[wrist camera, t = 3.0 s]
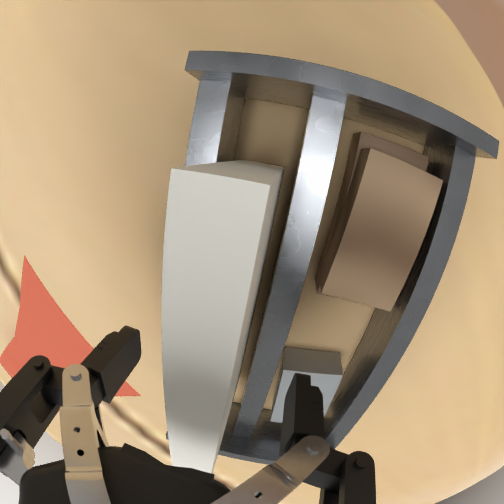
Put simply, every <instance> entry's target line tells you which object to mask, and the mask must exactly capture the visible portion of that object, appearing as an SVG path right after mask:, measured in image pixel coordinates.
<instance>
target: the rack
mask: <svg viewBox="0 0 504 504" xmlns="http://www.w3.org/2000/svg"><path fill="white" fill-rule="evenodd" d="M185 71H187V72H188V73H190V74H191V75H193V76H194V77H195V78H197V79H198V80H200V84H199V88H198V93H197V98H196V103H195V108H194V114H193V119H192V125H191V130H190V136H189V143H188V149H187V155H186V162H185V166H191V165H199V164H207V163H216V162H226V161H233V159H234V153H235V147H236V142H237V136H238V131H239V126H240V120H241V115H242V110H243V105H244V100H245V98H248V99H256V100H263V101H269V102H275V103H281V104H286V105H291V106H296V107H301V108H306V109H308V115H307V120H306V125H305V130H304V135H303V140H302V146H301V151H300V155H299V160H298V165H297V170H296V175H295V180H294V185H293V189H292V194H291V199H290V203H289V208H288V213H287V217H286V222H285V226H284V231H283V235H282V240H281V244H280V248H279V253H278V257H277V261H276V266H275V270H274V274H273V279H272V283H271V287H270V291H269V295H268V299H267V304H266V308H265V312H264V316H263V320H262V324H261V328H260V332H259V336H258V340H257V344H256V348H255V351H254V355H253V359H252V363H251V367H250V371H249V374H248V378H247V382H246V386H245V389H244V393H243V397H242V401H241V404H238V403H233V402H232V405H231V409H230V413H229V416H228V420H227V423H226V427H225V430H224V434H223V438H222V441H221V445H220V448H219V452H218V455H222V456H227V457H231V458H236V459H241V460H246V461H251V462H256V463H262V464H269V465H271V464H273V463H274V462H276V461H277V460H278V459H279V458H280V457H282V456H279V450H280V441H281V431H282V423H280V422H272V421H270V420H271V413H272V411H271V410H266V409H262V407H263V405H264V402H265V399H266V397H267V394H268V391H269V389H270V386H271V383H272V380H273V377H274V375H275V372H276V369H277V366H278V363H279V360H280V357H281V354H282V351H283V348H284V345H285V342H286V339H287V336H288V333H289V330H290V327H291V324H292V321H293V317H294V314H295V311H296V308H297V304H298V301H299V298H300V294H301V291H302V288H303V284H304V281H305V277H306V274H307V270H308V267H309V263H310V259H311V256H312V252H313V248H314V245H315V241H316V237H317V233H318V229H319V225H320V221H321V217H322V213H323V209H324V205H325V201H326V197H327V192H328V188H329V184H330V179H331V175H332V170H333V166H334V161H335V156H336V151H337V146H338V141H339V136H340V131H341V126H342V121H343V118H346V119H350V120H353V121H357V122H360V123H363V124H367V125H370V126H373V127H376V128H379V129H382V130H385V131H388V132H391V133H393V134H396V135H399V136H402V137H404V138H407V139H409V140H412V141H414V142H417V143H419V144H422V145H424V146H425V148H424V154H423V155H425V156H427V157H429V160H428V165H427V169H426V172H427V173H429V174H431V175H433V176H435V177H437V178H439V179H441V180H443V183H442V187H441V190H440V193H439V197H438V200H437V203H436V206H435V209H434V212H433V215H432V218H431V221H430V223H429V226H428V229H427V231H426V234H425V237H424V239H423V242H422V244H421V247H420V249H419V252H418V254H417V257H416V259H415V261H414V264H413V266H412V268H411V270H410V273H409V275H408V277H407V279H406V281H405V284H404V286H403V288H402V290H401V292H400V294H399V296H398V298H397V300H396V302H395V304H394V306H393V308H392V310H391V312H390V311H386V310H382V309H379V308H376V309H375V311H374V314H373V316H372V318H371V320H370V323H369V325H368V327H367V329H366V331H365V333H364V335H363V338H362V340H361V342H360V344H359V346H358V348H357V350H356V352H355V354H354V356H353V358H352V360H351V362H350V363H349V365H348V367H347V369H346V371H345V373H344V375H343V377H342V379H341V381H340V384H339V386H338V388H337V390H336V393H335V395H334V397H333V399H332V401H331V403H330V406H329V408H328V410H327V412H326V414H325V416H324V434H325V440H326V441H327V442H328V444H329V446H330V447H331V448H333V449H334V450H335V448H336V447H337V446H338V444H339V443H340V442H341V441H342V440H343V439H344V437H345V436H346V435H347V434H348V433H349V431H350V430H351V429H352V428H353V427H354V425H355V424H356V423H357V422H358V420H359V419H360V418H361V416H362V415H363V414H364V412H365V411H366V410H367V408H368V407H369V406H370V404H371V403H372V402H373V400H374V399H375V397H376V396H377V395H378V393H379V392H380V390H381V389H382V387H383V386H384V384H385V383H386V381H387V380H388V378H389V377H390V375H391V374H392V372H393V370H394V369H395V367H396V366H397V364H398V362H399V361H400V359H401V357H402V356H403V354H404V352H405V351H406V349H407V347H408V345H409V344H410V342H411V340H412V338H413V336H414V334H415V332H416V331H417V329H418V327H419V325H420V323H421V321H422V319H423V317H424V315H425V313H426V311H427V309H428V307H429V304H430V302H431V300H432V298H433V296H434V293H435V291H436V289H437V286H438V284H439V282H440V279H441V277H442V274H443V272H444V269H445V267H446V264H447V261H448V259H449V256H450V253H451V250H452V248H453V245H454V242H455V239H456V236H457V232H458V229H459V226H460V223H461V219H462V216H463V212H464V208H465V204H466V200H467V196H468V192H469V188H470V183H471V179H472V174H473V168H474V163H475V157H483V158H492V159H497V154H498V146H499V141H498V140H497V139H495V138H494V137H492V136H491V135H489V134H488V133H486V132H484V131H483V130H481V129H480V128H478V127H476V126H475V125H473V124H471V123H470V122H468V121H466V120H464V119H463V118H461V117H459V116H457V115H455V114H453V113H452V112H450V111H448V110H446V109H444V108H442V107H440V106H438V105H436V104H433V103H431V102H429V101H427V100H425V99H423V98H420V97H418V96H416V95H413V94H411V93H409V92H406V91H404V90H401V89H399V88H396V87H393V86H391V85H388V84H385V83H382V82H380V81H377V80H374V79H371V78H368V77H364V76H361V75H358V74H355V73H351V72H348V71H344V70H340V69H336V68H332V67H328V66H324V65H320V64H315V63H310V62H306V61H300V60H295V59H289V58H283V57H276V56H269V55H261V54H251V53H240V52H224V51H189V54H188V58H187V62H186V66H185ZM166 439H168V431H167V433H166ZM168 440H169V439H168Z"/></svg>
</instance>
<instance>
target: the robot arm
mask: <svg viewBox="0 0 504 504" xmlns="http://www.w3.org/2000/svg"><path fill="white" fill-rule="evenodd" d="M140 357H141V341H140V331H139V330H137V329H134V328H132V327H129V326H124V327H123V328H122V329H121V330H120V331H119V332H116V331H114V332H112V333H110V334H108V335H106V337H105V338H104V339H103V340H102V341H101V343H99V344H98V345H97V347H95V348H94V349H93V350H92V352H91V353H90V354H89V355H88V356H87V357H86V358H85V359H84V360H83V361H82V363H81V364H72V365H69V366H67V367H66V368H61V367H57V366H53V365H51V363H50V361H49V359H48V358H47V357H45V356H43V355H37V356H34V357H32V358H31V359H29V361H28V362H27V363H26V364H25V365H24V366H23V367H22V368H21V369H20V370H19V371H18V372H17V374H16V375H15V376H14V377H13V378H12V379H11V380H10V381H9V383H8V384H7V385H6V386H5V387H4V388H3V389H2V391H1V392H0V472H1V473H3V474H4V475H5V476H7V477H9V478H10V479H11V480H13V481H14V482H15V483H16V484H18V485H19V486H20V497H19V504H278V503H279V502H280V501H281V500H283V499H284V498H285V497H286V496H287V495H288V494H290V493H291V492H292V491H293V490H294V489H295V488H296V487H297V486H299V485H300V484H301V483H302V482H304V483H307V484H310V485H313V486H315V487H318V488H321V491H320V500H319V504H376V485H375V464H374V460H373V458H372V457H371V456H370V455H369V454H368V453H366V452H362V451H356V452H353V453H351V454H350V455H348V454H345V453H342V452H339V451H337V450H334V449H333V448H331V447H330V446H329V444H328V442H327V441H326V440H325V434H324V412H323V411H324V408H323V394H322V392H321V391H320V389H319V387H317V386H311V376H310V375H307V374H301V373H295V374H294V376H293V379H292V381H291V383H290V386H289V388H288V390H287V393H286V396H285V401H284V411H283V421H282V431H281V441H280V450H279V456H282V457H280V458H279V459H278V460H277V461H276V462H274V463H273V464H271V465H268V466H266V467H264V468H263V469H262V470H260V471H259V472H258V473H256V474H255V475H254V476H252V477H251V478H249V479H248V480H247V481H245V482H244V483H242V484H241V485H239V486H238V487H236V488H235V489H233V490H232V491H230V490H229V489H228V488H227V487H226V486H225V485H223V484H222V483H220V482H218V481H216V480H214V475H215V474H211V473H207V472H204V471H200V470H196V469H193V468H186V467H177V466H169V465H165V464H163V463H162V462H160V461H158V460H157V459H155V458H154V457H152V456H151V455H149V454H148V453H146V452H145V451H142V450H140V449H137V448H135V447H133V446H131V445H128V444H126V443H124V445H123V447H116V446H109V445H108V442H107V439H106V436H105V431H104V426H103V421H102V416H101V410H100V405H99V404H100V403H101V401H102V400H103V401H105V402H107V403H110V402H111V400H112V399H113V398H114V396H115V395H116V393H117V392H118V390H119V389H120V387H121V386H122V385H123V383H124V382H125V380H126V379H127V377H128V376H129V375H130V373H131V372H132V370H133V369H134V367H135V366H136V365H137V363H138V362H139V360H140ZM36 395H37V396H36ZM59 409H60V425H61V437H62V446H63V453H64V459H63V460H59V461H55V462H52V463H48V464H44V465H40V466H35V467H33V465H34V463H35V461H34V458H35V453H34V450H33V449H34V447H35V445H36V444H37V442H38V441H39V439H40V438H41V436H42V435H43V433H44V432H45V430H46V429H47V427H48V426H49V424H50V423H51V421H52V420H53V418H54V417H55V415H56V414H57V412H58V411H59Z"/></svg>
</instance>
